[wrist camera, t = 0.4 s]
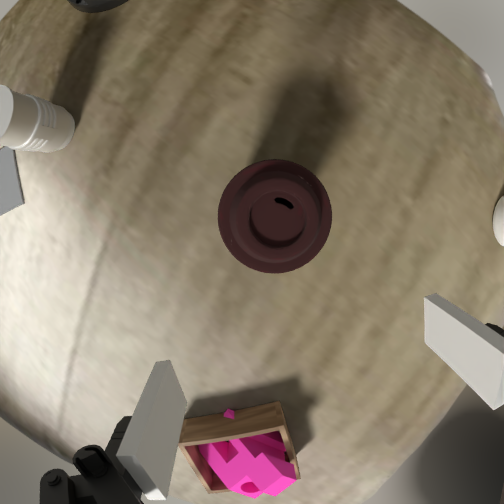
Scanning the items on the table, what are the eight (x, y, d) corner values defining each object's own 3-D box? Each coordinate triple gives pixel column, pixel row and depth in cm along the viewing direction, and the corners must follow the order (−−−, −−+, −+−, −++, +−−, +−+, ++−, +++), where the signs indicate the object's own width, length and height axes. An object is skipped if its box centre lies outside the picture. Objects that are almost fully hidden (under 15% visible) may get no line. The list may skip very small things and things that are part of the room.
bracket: (288, 436, 48) (296, 480, 38) (253, 467, 50) (255, 509, 40) (228, 408, 47) (226, 453, 37) (196, 443, 48) (189, 486, 38)
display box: (182, 419, 47) (177, 443, 41) (279, 400, 47) (283, 425, 41) (210, 470, 50) (208, 493, 44) (296, 455, 50) (300, 478, 44)
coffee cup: (252, 260, 42) (258, 300, 27) (210, 195, 40) (192, 200, 26) (318, 219, 41) (357, 238, 27) (277, 153, 40) (297, 135, 25)
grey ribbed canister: (64, 162, 39) (-4, 157, 24) (33, 143, 38) (-35, 134, 23) (86, 117, 37) (24, 94, 23) (54, 101, 37) (-10, 77, 22)
